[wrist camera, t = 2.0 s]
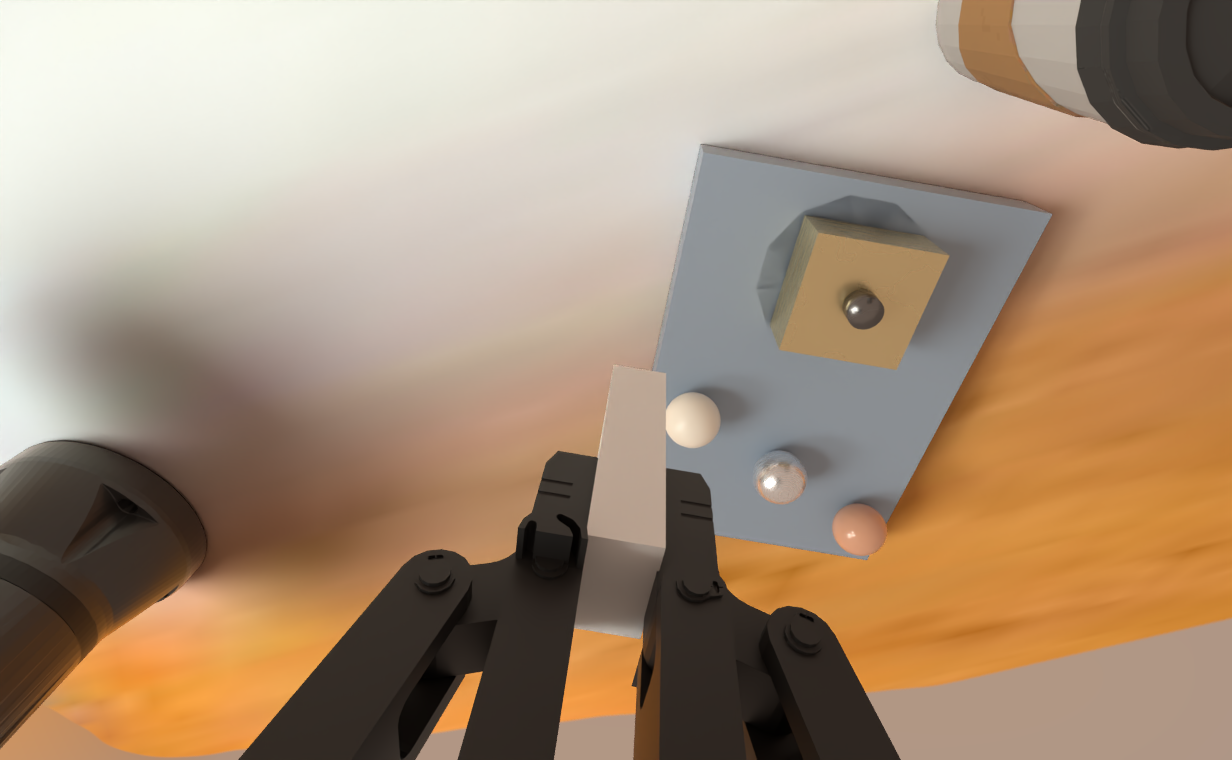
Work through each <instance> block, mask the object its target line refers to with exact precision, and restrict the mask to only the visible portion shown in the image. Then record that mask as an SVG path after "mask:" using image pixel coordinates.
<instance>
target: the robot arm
mask: <svg viewBox="0 0 1232 760" xmlns="http://www.w3.org/2000/svg"><path fill="white" fill-rule="evenodd" d="M711 507H712V502H711V491H710V488H709V486H708V485H707V483H706V482H705V480H704V478H703V477H702V475H701V474H699V473H693V472H687V471H681V470H675V469H670V468H666V373H662V372H656V371H650V370H644V369H638V368H633V367H627V366H621V365H615V364H614V366H613V371H612V377H611V383H610V389H609V394H608V400H607V406H606V412H605V417H604V423H603V429H602V434H601V440H600V446H599V452H598V458H597V457H591V456H585V455H579V454H573V453H567V452H561V451H558V452H557V453H556V454H555V455H554V456H553V457H552V458H551V459H550V460H548V461H547V462H546V465H545V468H544V472H543V475H542V480H541V483H540V486H539V490H538V494H537V497H536V500H535V504H534V507H533V511H532V513H531V514H529V515H528V516H526V517H525V518H524V519H523V520H522V522H521V524H520V525H519V527H518V535H517V545H516V552H515V553H513V554H512V555H510V556H509V557H507V558H505V559H503V560H500V561H497V562H492V563H487V564H478V565H469V563H468V562H467V560H466V559H465V558H464V557H462V556H461V555H459V554H457V553H456V552H452V551H447V550H442V549H440V550H430V551H426V552H423V553H421V554H418V555H416V556H414V557H413V558H411V559H410V560H409V561H408V562H407V563H405V564H404V565H403V566H402V567H401V569H400V570H399V571H398V572H397V573H396V575H395V576H394V577H393V578H392V579H391V580H390V582H389V583H388V584H387V585H386V586H385V588H384V589H383V590H382V591H381V592H380V593H379V595H378V596H377V597H376V598H375V599H374V600H373V602H372V603H371V604H370V605H369V606H368V608H367V609H366V610H365V611H364V612H363V613H362V615H361V616H360V617H359V618H358V619H357V621H356V622H355V623H354V624H353V625H352V626H351V628H350V629H349V630H348V631H347V632H346V633H345V635H344V636H343V637H342V638H341V639H340V641H339V642H338V643H337V644H336V645H335V646H334V648H333V649H332V650H331V651H330V652H329V653H328V655H327V656H326V657H325V658H324V659H323V661H322V662H321V663H320V664H319V665H318V666H317V668H316V669H315V670H314V671H313V672H312V674H311V675H310V676H309V677H308V678H307V679H306V681H305V682H304V683H303V684H302V685H301V686H300V688H299V689H298V690H297V691H296V692H295V694H294V695H293V696H292V697H291V698H290V699H289V701H288V702H287V703H286V704H285V705H284V706H283V708H282V709H281V710H280V711H279V712H278V714H277V715H276V716H275V717H274V718H273V719H272V721H271V722H270V723H269V724H268V725H267V727H266V728H265V729H264V730H263V731H262V732H261V734H260V735H259V736H258V737H257V738H256V739H255V741H254V742H253V743H252V744H251V745H250V747H249V748H248V749H247V750H246V751H245V753H244V754H243V755H242V756H241V757H240V758H239V760H415V759H416V758H417V756H418V754H419V753H420V751H421V749H422V747H423V746H424V744H425V742H426V741H427V739H428V737H429V736H430V734H431V732H432V731H433V729H434V727H435V726H436V724H437V722H438V721H439V719H440V717H441V716H442V714H443V712H444V710H445V709H446V707H447V705H448V704H449V702H450V700H451V699H452V697H453V695H454V694H455V692H456V690H457V689H458V687H459V685H460V684H461V682H462V680H463V678H464V677H465V674H469V673H475V672H481V671H483V673H482V676H481V680H480V683H479V687H478V690H477V694H476V697H475V701H474V704H473V708H472V711H471V715H470V718H469V722H468V725H467V729H466V733H465V736H464V739H463V743H462V746H461V750H460V753H459V757H458V760H554V755H555V747H556V741H557V735H558V728H559V722H560V716H561V709H562V702H563V696H564V689H565V683H566V676H567V670H568V663H569V657H570V650H571V644H572V637H573V631H574V628H577V629H583V630H589V631H595V632H601V633H607V634H613V635H619V636H625V637H631V638H637V639H640V638H641V635H642V631H643V648H642V652H641V655H640V659H639V662H638V666H637V669H636V673H635V676H634V680H633V683H632V686H634V687H637V697H636V718H635V738H634V758H633V759H634V760H901V759H900V758H899V756H898V754H897V752H896V750H895V748H894V746H893V744H892V742H891V740H890V738H889V737H888V735H887V733H886V731H885V729H884V727H883V725H882V723H881V721H880V719H879V718H878V716H877V714H876V712H875V710H874V708H873V706H872V704H871V702H870V701H869V699H868V697H867V695H866V693H865V691H864V689H863V687H862V685H861V683H860V681H859V680H858V678H857V676H856V674H855V672H854V670H853V668H852V666H851V664H850V662H849V661H848V659H847V657H846V655H845V653H844V651H843V649H842V647H841V645H840V643H839V642H838V640H837V638H836V636H835V634H834V633H833V632H832V630H831V629H830V627H829V626H828V625H827V623H826V622H824V621H823V620H822V619H821V618H819V617H818V616H817V615H816V614H814V613H812V612H810V611H807V610H805V609H803V608H799V607H792V606H786V607H782V608H778V609H776V610H775V611H774V612H773V613H772V614H771V615H769V614H767V613H765V612H762V611H760V610H758V609H756V608H754V607H751V606H749V605H747V604H746V603H744V602H742V601H740V600H739V599H738V598H736V597H735V596H734V595H733V594H732V593H730V591H729V590H728V589H727V587H726V584H725V582H724V581H723V580H722V578H721V577H720V575H719V571H718V564H717V554H716V544H715V533H714V523H713V512H712V508H711ZM205 554H206V537H205V533H204V530H203V527H202V525H201V523H200V521H199V519H198V517H197V515H196V514H195V512H194V511H193V509H192V508H191V507H190V505H189V504H188V503H187V502H186V501H185V499H184V498H183V497H182V496H181V495H180V494H179V493H178V492H177V491H176V490H175V489H174V488H173V487H171V486H170V485H169V484H168V483H167V482H165V481H164V480H163V479H162V478H160V477H159V476H158V475H156V474H155V473H153V472H152V471H150V470H149V469H147V468H145V467H144V466H142V465H140V464H138V463H136V462H135V461H133V460H131V459H129V458H126V457H124V456H122V455H120V454H117V453H115V452H112V451H109V450H106V449H103V448H100V447H97V446H93V445H88V444H83V443H77V442H67V441H55V442H46V443H41V444H37V445H34V446H32V447H29V448H28V449H26V450H24V451H23V452H21V453H19V454H18V455H16V456H15V457H13V458H12V459H10V460H9V461H7V462H6V463H4V464H3V465H1V466H0V749H1V748H2V747H3V745H5V743H6V742H7V741H8V740H9V739H10V738H11V737H12V736H13V735H14V734H15V733H16V731H17V730H18V729H19V728H20V727H21V726H22V725H23V724H24V723H25V722H26V721H27V720H28V718H29V717H30V716H31V715H32V714H33V713H34V712H35V711H36V710H37V708H39V706H40V705H41V704H42V703H43V702H44V701H45V700H46V699H47V698H48V697H49V696H50V695H51V693H52V692H53V691H54V690H55V689H56V688H57V687H58V686H59V685H60V684H61V683H62V681H63V680H64V679H65V678H66V677H67V676H68V675H69V674H70V673H71V672H72V671H73V670H74V668H75V667H76V666H77V665H78V664H79V663H80V662H81V661H82V660H83V659H84V658H85V657H86V656H87V654H88V653H89V652H90V651H91V650H92V649H93V648H94V647H95V646H96V645H97V644H98V643H99V642H100V641H101V640H102V639H103V638H105V637H106V636H107V635H109V634H110V633H112V632H113V631H115V630H116V629H118V628H119V627H121V626H122V625H124V624H125V623H127V622H128V621H130V620H131V619H133V618H134V617H136V616H137V615H139V614H140V613H142V612H143V611H144V610H146V609H147V608H149V607H150V606H151V605H153V604H154V603H156V602H159V601H162V600H164V599H165V598H167V597H169V596H170V595H172V594H173V593H175V592H176V591H177V590H178V589H180V588H181V587H182V586H183V585H184V584H185V583H186V581H187V580H188V579H189V578H190V577H191V576H192V575H193V573H194V572H195V571H196V570H197V569H198V568H199V567H200V565H201V564H202V562H203V560H204V558H205ZM643 627H644V628H643Z"/></svg>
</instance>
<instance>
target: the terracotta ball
mask: <svg viewBox="0 0 1232 760" xmlns="http://www.w3.org/2000/svg"><path fill="white" fill-rule="evenodd" d="M832 532H833V536H834V538H835V540H836V542H837V543H838V544H839V546H840V547H841V548H842V549H844V550H845V551H847V552H849V553H851V554H853V555H858V556H866V555H871V554H873V553H875V552H877V551H878V550H879V549H880V548H881V547H882V546H883V545H884V543H885V541H886V537H887V526H886V523H885V521H884V519H883V517H882V516H881V515H880V513H879V512H878V511H876V510H875V509H874V508H872V507H870V506H868V505H865V504H860V503H854V504H849V505H846V506H844V507H843V508H841V509H840V510H839V511H838V512H837V513H836V515H835V516H834V519H833V523H832Z"/></svg>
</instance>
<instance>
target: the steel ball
mask: <svg viewBox="0 0 1232 760" xmlns="http://www.w3.org/2000/svg"><path fill="white" fill-rule="evenodd" d="M752 479H753V484H754V487H755V489H756V491H757V492H758V494H759V495H760V496H761V497H762V498H764V499H765V500H767V501H769V502H771V503H774V504H788V503H791V502H793V501H795V500H797V499H798V498H799V497H800V496H801V495H802V494H803V493H804V491H805V489H806V486H807V481H808V480H807V471H806V468H805V466H804V464H803V463H802V462H801V460H800V459H799V458H798V457H796V456H795V455H793V454H792V453H789V452H786V451H781V450H777V451H771V452H768V453H766V454H764V455H763V456H762V457H760V458H759V459H758V461H757V462H756V464H755V466H754V468H753V473H752Z"/></svg>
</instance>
